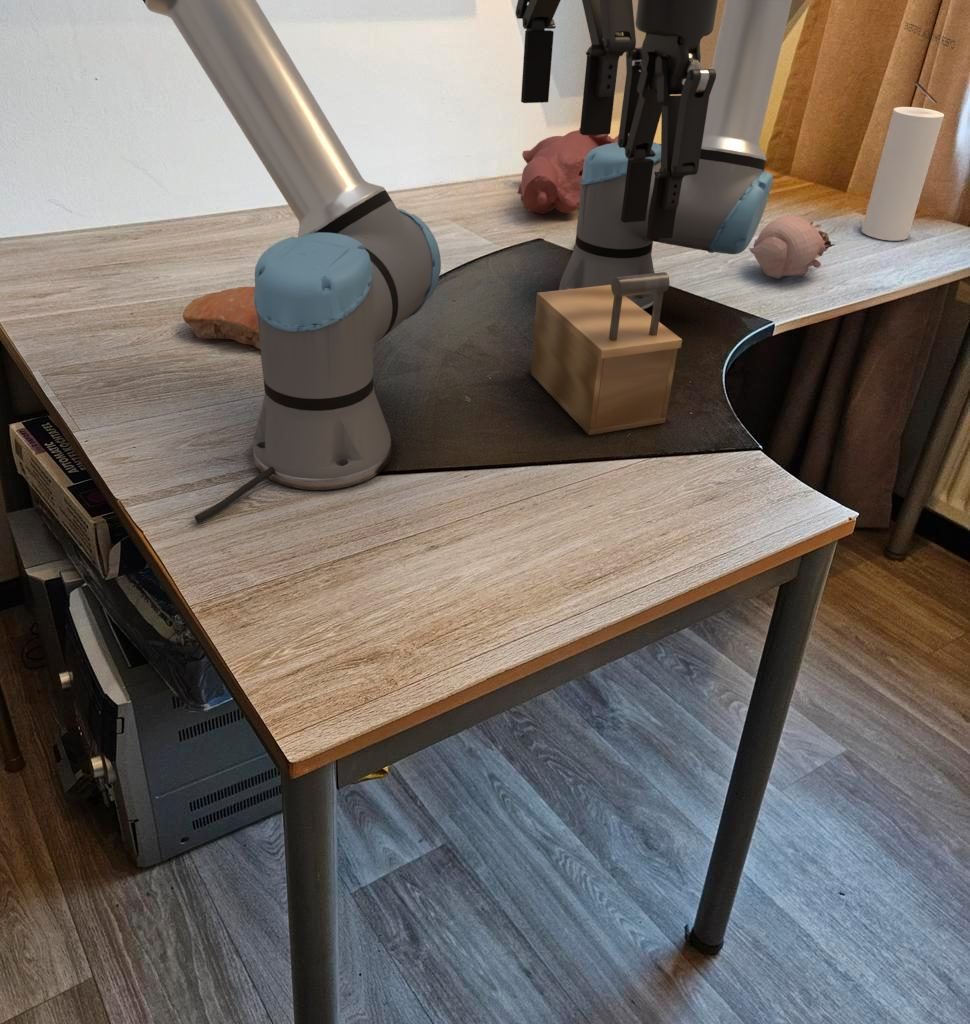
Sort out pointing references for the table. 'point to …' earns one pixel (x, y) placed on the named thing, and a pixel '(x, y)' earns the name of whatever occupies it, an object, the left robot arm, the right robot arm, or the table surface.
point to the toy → (790, 246)
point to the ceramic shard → (225, 316)
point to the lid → (614, 315)
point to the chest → (600, 379)
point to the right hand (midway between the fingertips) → (646, 228)
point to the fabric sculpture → (557, 171)
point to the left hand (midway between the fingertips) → (563, 117)
